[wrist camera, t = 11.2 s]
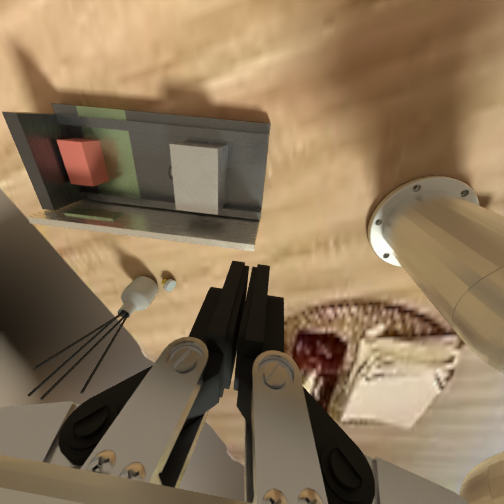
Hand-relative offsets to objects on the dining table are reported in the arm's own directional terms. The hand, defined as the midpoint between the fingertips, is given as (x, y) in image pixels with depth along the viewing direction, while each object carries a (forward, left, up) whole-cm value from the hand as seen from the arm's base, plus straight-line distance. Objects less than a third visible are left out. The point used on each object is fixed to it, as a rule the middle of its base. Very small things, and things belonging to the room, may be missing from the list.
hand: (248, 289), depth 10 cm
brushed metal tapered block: (+9, 0, -21) cm, 23 cm away
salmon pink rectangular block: (+23, 0, -21) cm, 31 cm away
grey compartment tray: (+14, 0, -22) cm, 26 cm away
